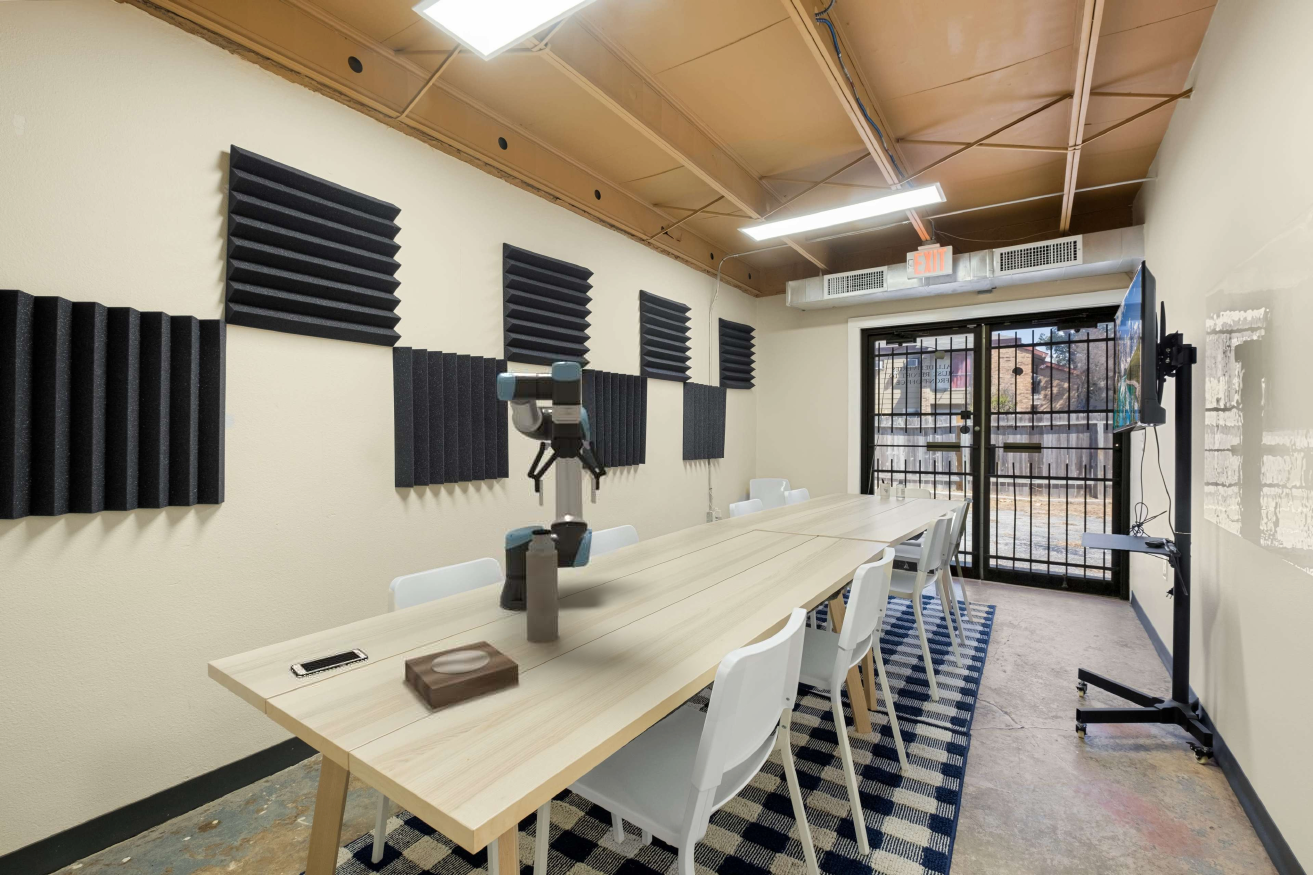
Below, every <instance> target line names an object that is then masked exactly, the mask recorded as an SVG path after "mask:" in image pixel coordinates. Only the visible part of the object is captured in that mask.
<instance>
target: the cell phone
mask: <svg viewBox="0 0 1313 875" xmlns="http://www.w3.org/2000/svg"><path fill="white" fill-rule="evenodd" d="M365 659H367V660H369V656H368V654H366V653H365V652H363V651H362V650H361V649H360V648H352V649H350V650H345V651H342V652H341V651H340V652H337V653H335V654H330V655H327V656H323V657H319V658H314V659H310V660H307V661H303V662H298V663H295V664H293V665H291V666H290V670H291V669H292V670H293V671H294V672H293V673H294V674H295V673H296V674H297V675H298V676H304V675H309V674H313V673H316V672H320V671H324V672H326V671H325V670H328V671H330V670H329V669H332V670H334V669H333V668H335V669H338V668H337V667H339V668H341V667H340V666H342V667H344V666H343V665H346V666H349V665H348V664H350V663H353V662H357V661H361V660H364V661H366V660H365ZM361 662H362V661H361ZM357 663H358V662H357ZM350 665H351V664H350ZM292 670H291V671H292ZM297 675H296V676H297ZM313 675H314V674H313Z"/></svg>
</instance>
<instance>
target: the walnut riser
mask: <svg viewBox="0 0 1313 875" xmlns="http://www.w3.org/2000/svg"><path fill="white" fill-rule="evenodd" d="M404 673H405V674H404V679H405V680H406V681H407V683H408V684H410V686H411V687H412V688H413V689H414V690H415V691H416V692H417V693H418V695H419V696H420V697H421V699H423V700H424V701H425V703H426V704H427V705H428V706H429V707H430V708H431V709H432V710H436V709H439V708H442V707H445V706H449V705H452V704H455V703H458V702H461V701H465V700H469V699H472V698H474V697H475V698H476V697H478V696H481V695H485V694H487V693H490V692H494V691H497V690H501V689H503V688H508V687H511V686H513V685H516V684H519V664H518V663H517V662H516V661H514V660H513V659H511V658H510V657H508V655H505V654H504V653H503V652H501V651H499V649H497V648H495V647H494V646H493V645H491V644H490V643H488V642H487V641H485V640H481V641H478V642H475V643H471V644H470V643H469V644H466V645H461V646H457V647H454V648H450V649H449V648H448V649H446V650H442V651H438V652H434V653H431V654H426V655H421V656H418V657H413V658H410V659H406V660H404Z"/></svg>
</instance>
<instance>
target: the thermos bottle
mask: <svg viewBox="0 0 1313 875" xmlns="http://www.w3.org/2000/svg"><path fill="white" fill-rule="evenodd" d="M532 534H533V536H532V542H530V543H529V547H528V548H529V551H527V552H526V585H527V610H526V639H527V640H528V641H529V642H532V643H535V644H536V643H548V642H552V641H555V640H557V639H558V638H559V588H558V587H559V582H558V580H559V579H558V577H559V576H558V575H559V574H558V569H559V568H558V565H557V550H555V543H554V542H553V541H552V540H551V535H550V534H551V529H547V528H544V529H538V530H533V531H532Z"/></svg>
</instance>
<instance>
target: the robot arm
mask: <svg viewBox="0 0 1313 875" xmlns="http://www.w3.org/2000/svg"><path fill="white" fill-rule="evenodd" d="M581 369H582V368H581V365H580V363H578V362H574V361H573V362H572V361H558V362H557V361H556V362H554V363H552V365H551V372H512V371H511V372H500V373H499V374H498V375H497V378H496V380H497V381H496V392H497V398H498V400H500V401H507V402H509V404H510V408H511V410H512V415H511V421H512V424H513V426H514V428H515V429H516V431H518V433H520V434H522V435H523V436H525V437H527V438H529V439H532V440H536V441H540V442H539V448H538V451H537V454H536V456H534V460H533V461H532V464H531V465H530V468H529V470H528V472H527V474H526V476H527V478H529V479H532V480H533V481H534V493H535V494H538V505H539V506H540V507H543V506H544V481H543V479H541V478H543V476H544V475H545V473H546V472H547V471H548V470H549V469H550V467H551V466H552V465H553V464H554V463H555V466H554V467H555V468H554V469H555V475H554V477H555V479H554V480H555V520H554V521H552V523H551V524H550V530H551V534H550V535H551V540H552V541H553V542H554V543H555V550H557V565H558V569H561V568H562V569H565V568H572V569H575V568H581V567H583V568H584V567H586V566H587V565H588V564H589V562H590V555H591V548H592V539H593V538H592V537H593V529H591V528H588V522H586V520H584V518H583V515H584V514H583V476H582V475H583V470H582V469H583V468H582V464H583V466H584V467H585V468H586V469H587V470H588V471H589V472H590V474H591V475H592V476H593V477H590V502H591V503H592V504H594V505H595V504H596V503H597V493H596V491H599V490H600V488H601V487H600V484H601V483H600V479H601V477H604V476H607V471H606V469H605V466H604V464H603V463H602V461H601V459H600V457H599V455H598V453H597V451H596V449H595V443H594V441H593V440H590V437H591V434H590V433H591V432H590V425H589V417H588V413H587V410H586V409H585V407H583V406H582V372H581V371H582V370H581ZM537 401H551V406H544V405H543V406H541V405H539V406H538V403H537ZM548 441H549V442H548ZM549 448H551V449H552V451H553V452H552V454H551V455H550V457H549V458H548V459H547V461H545V463H543V465H542V466H541V467H540V469H539V470H538V471H537V468H538V467H539V465H540V463H541V460H542V458H543V457H544V454H545V451H548V449H549ZM583 448H585V449H586V450H588V452H589V454H590V455H591V458H592V460H593V462H594V463H595V465H596V468H597V470H598V471H597V470H596V469H595V467H593V465H592V464H591V463H590V462H589V461H588V460H587V458H586V457H585V456H584V455H583V453H582V449H583ZM536 471H537V473H536ZM535 473H536V474H535ZM538 529H545V528H544V526H542V525H529V526H523V527H519V528H516V529H513V530H511V531H509V532H507V534H506V536H505V543H504V544H505V545H504V549H505V581H504V585H503V587H502V591H501V593H500V599H499V606H500V607H501V606H503V607H505V608H504V609H506V608H509V609H508V610H512V609H527V585H526V552H527V551H529V548H528V547H529V543H530V542H532V536H533V534H532V531H533V530H538ZM503 607H502V608H503Z"/></svg>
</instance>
